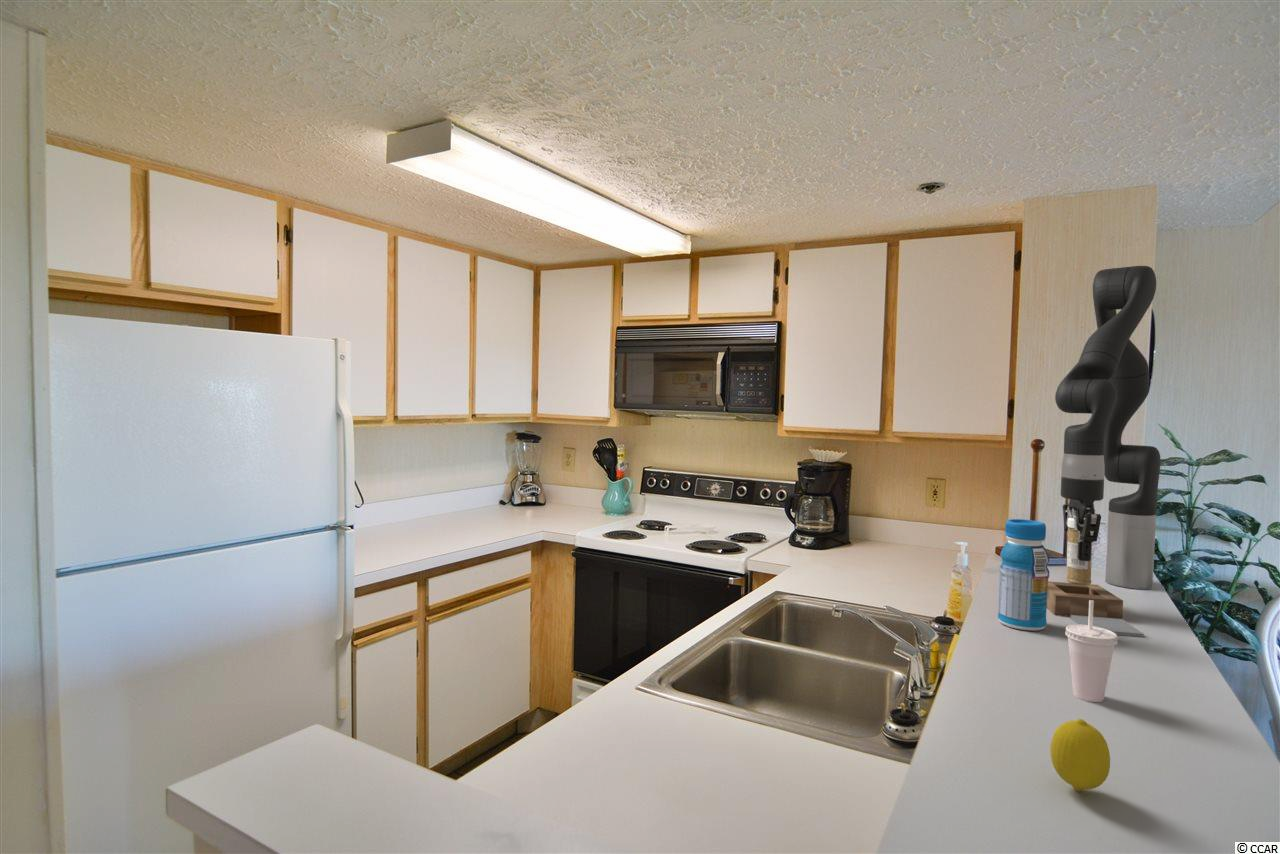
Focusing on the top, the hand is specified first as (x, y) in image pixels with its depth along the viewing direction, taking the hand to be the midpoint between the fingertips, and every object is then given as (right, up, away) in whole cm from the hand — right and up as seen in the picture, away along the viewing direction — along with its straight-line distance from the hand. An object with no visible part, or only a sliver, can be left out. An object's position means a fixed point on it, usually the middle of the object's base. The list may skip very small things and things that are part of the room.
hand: (1079, 557), depth 144 cm
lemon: (-43, -13, -68) cm, 81 cm away
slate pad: (-2, -11, -11) cm, 16 cm away
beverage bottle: (-18, -11, -11) cm, 24 cm away
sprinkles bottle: (0, -5, 0) cm, 5 cm away
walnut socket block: (0, -11, 0) cm, 11 cm away
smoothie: (-26, -12, -43) cm, 52 cm away
